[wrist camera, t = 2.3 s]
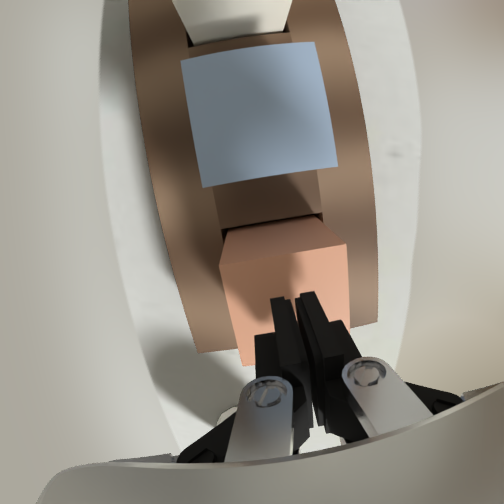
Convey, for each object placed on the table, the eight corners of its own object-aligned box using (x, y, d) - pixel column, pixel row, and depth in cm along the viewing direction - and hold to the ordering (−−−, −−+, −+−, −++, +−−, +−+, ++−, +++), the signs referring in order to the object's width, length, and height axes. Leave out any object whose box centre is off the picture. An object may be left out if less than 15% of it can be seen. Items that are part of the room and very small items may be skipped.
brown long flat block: (148, 2, 15) (127, -28, 11) (301, -22, 15) (312, -57, 10) (206, 316, 23) (198, 353, 19) (354, 290, 23) (377, 321, 18)
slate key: (203, 93, 15) (180, 60, 9) (291, 79, 15) (314, 41, 9) (218, 177, 16) (202, 187, 10) (306, 163, 16) (338, 166, 10)
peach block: (228, 229, 17) (218, 265, 11) (313, 215, 17) (346, 244, 11) (243, 306, 19) (242, 366, 13) (321, 292, 18) (349, 347, 13)
